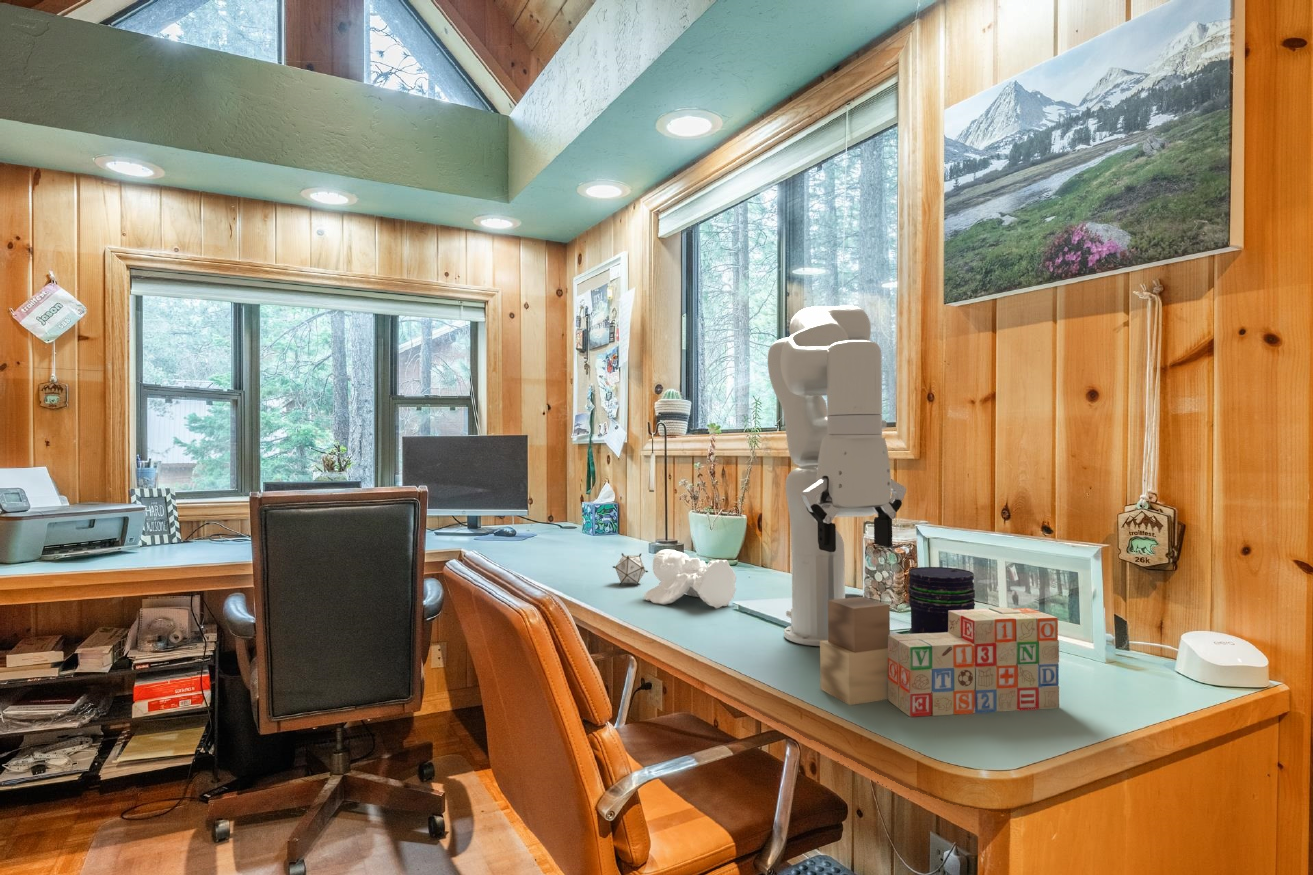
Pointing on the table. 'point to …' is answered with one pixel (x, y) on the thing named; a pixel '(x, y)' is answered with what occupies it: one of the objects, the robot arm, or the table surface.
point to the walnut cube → (858, 624)
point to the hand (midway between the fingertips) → (855, 548)
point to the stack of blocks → (977, 664)
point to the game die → (630, 569)
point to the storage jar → (938, 596)
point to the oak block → (853, 673)
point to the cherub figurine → (691, 579)
